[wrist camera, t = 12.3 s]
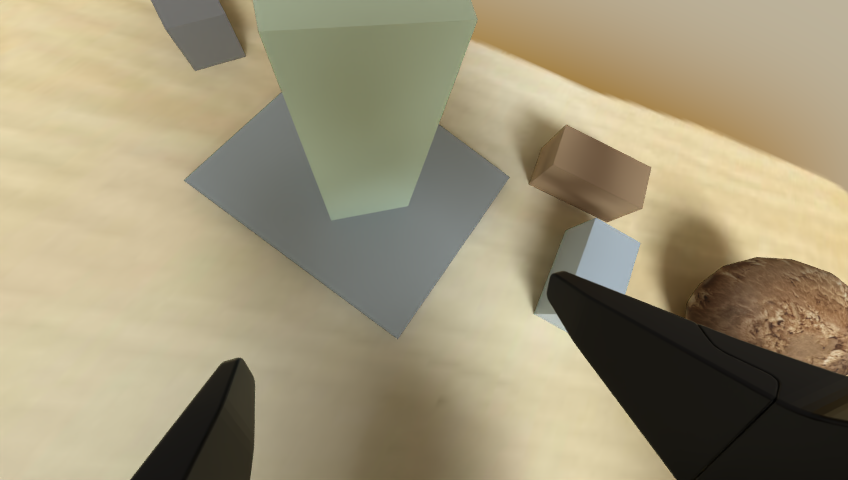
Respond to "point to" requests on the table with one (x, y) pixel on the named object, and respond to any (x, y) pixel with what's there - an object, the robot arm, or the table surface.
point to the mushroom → (778, 309)
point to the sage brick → (365, 89)
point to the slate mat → (359, 235)
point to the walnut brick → (590, 175)
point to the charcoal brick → (200, 31)
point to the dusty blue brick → (592, 260)
